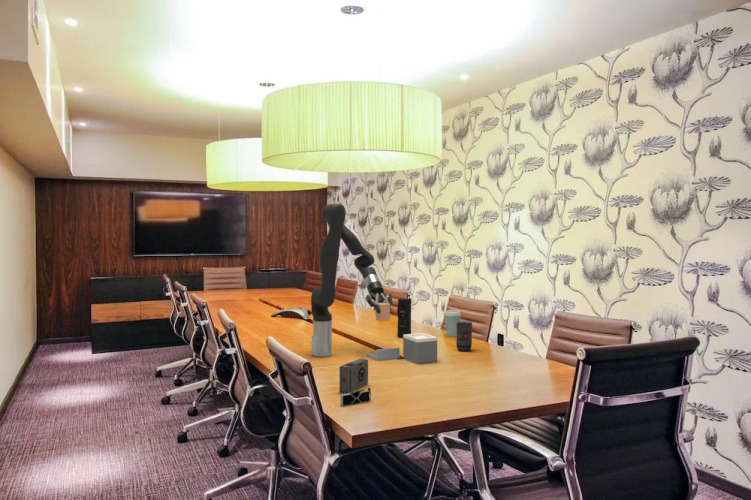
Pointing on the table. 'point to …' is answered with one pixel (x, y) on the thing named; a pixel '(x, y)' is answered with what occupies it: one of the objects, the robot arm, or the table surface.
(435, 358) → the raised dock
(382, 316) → the plug block
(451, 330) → the disposable coffee cup
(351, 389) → the camera
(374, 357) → the low dock
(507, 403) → the table surface
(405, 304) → the portable radio
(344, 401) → the graphics card
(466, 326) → the camera lens
